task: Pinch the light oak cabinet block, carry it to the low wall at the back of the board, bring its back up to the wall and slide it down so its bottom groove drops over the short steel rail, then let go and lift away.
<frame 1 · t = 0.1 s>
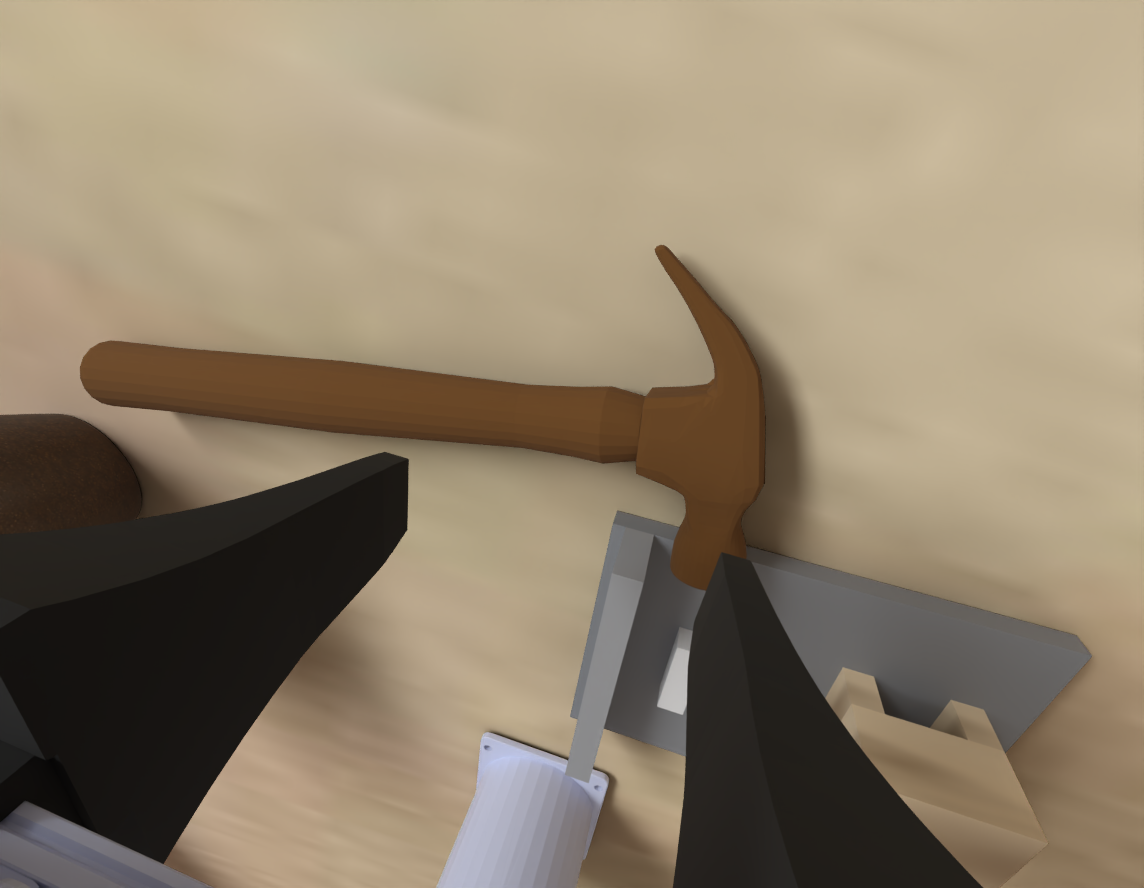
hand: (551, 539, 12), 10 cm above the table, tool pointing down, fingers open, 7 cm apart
wall board: (779, 674, 25), on the table
hammer: (412, 375, 23), on the table, touching wall board
cabinet block: (886, 725, 23), point 1 cm above the table, touching wall board
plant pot: (94, 466, 32), on the table
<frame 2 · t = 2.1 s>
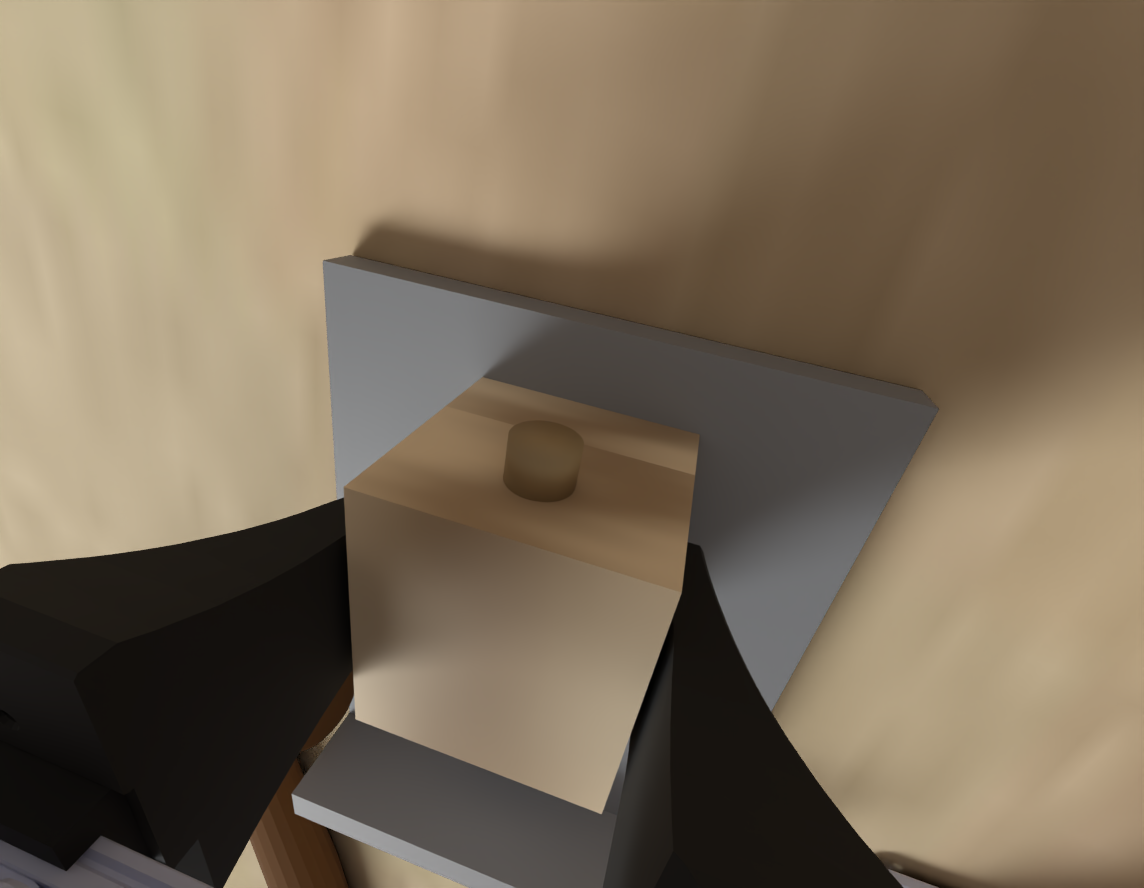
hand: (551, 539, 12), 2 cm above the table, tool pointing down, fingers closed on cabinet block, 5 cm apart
wall board: (552, 608, 16), on the table
hammer: (311, 805, 27), on the table, touching wall board
cabinet block: (567, 505, 13), point 1 cm above the table, touching gripper, wall board
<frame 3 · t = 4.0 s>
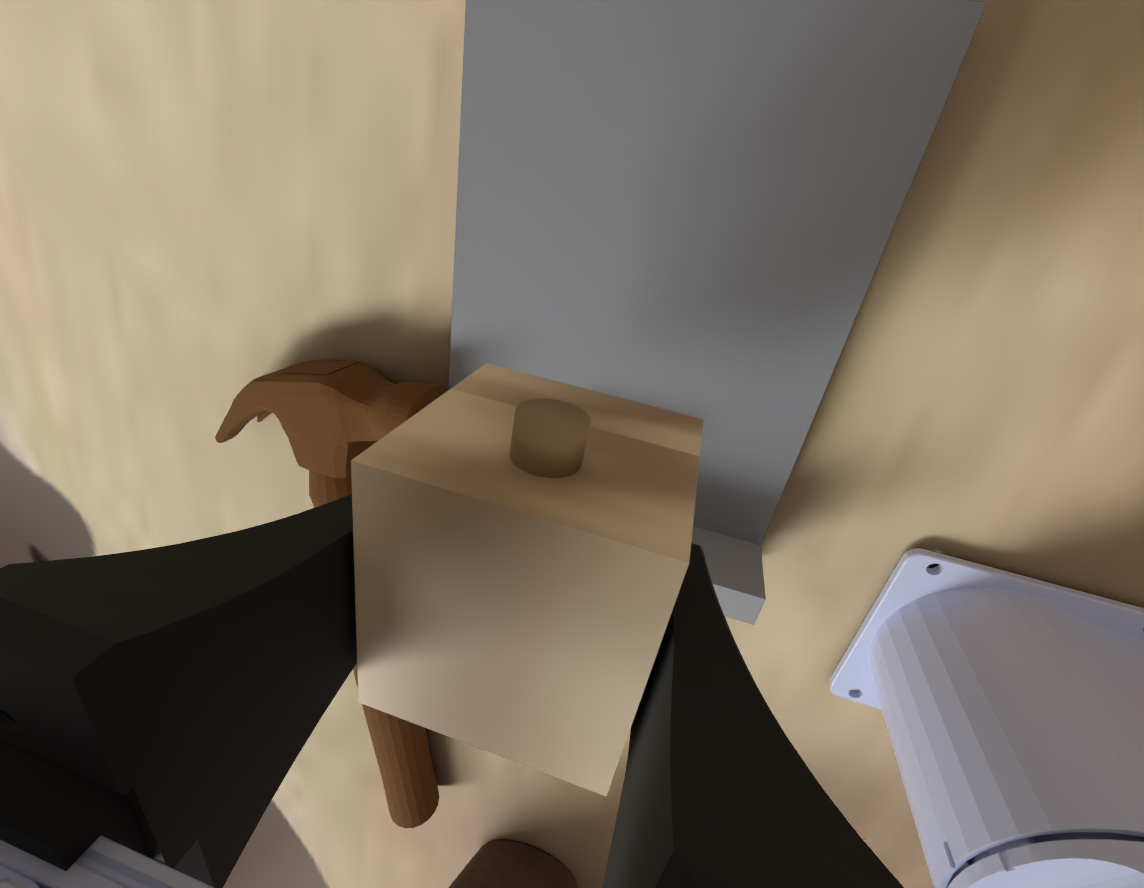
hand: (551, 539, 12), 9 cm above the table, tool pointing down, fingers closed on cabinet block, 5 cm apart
wall board: (637, 314, 18), on the table
hammer: (387, 608, 30), on the table, touching wall board
cabinet block: (570, 492, 13), point 8 cm above the table, touching gripper
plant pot: (525, 866, 38), on the table
when the fingers open (3 cm above the table, at t = 6.2 s): cabinet block stays where it is, resting on wall board.
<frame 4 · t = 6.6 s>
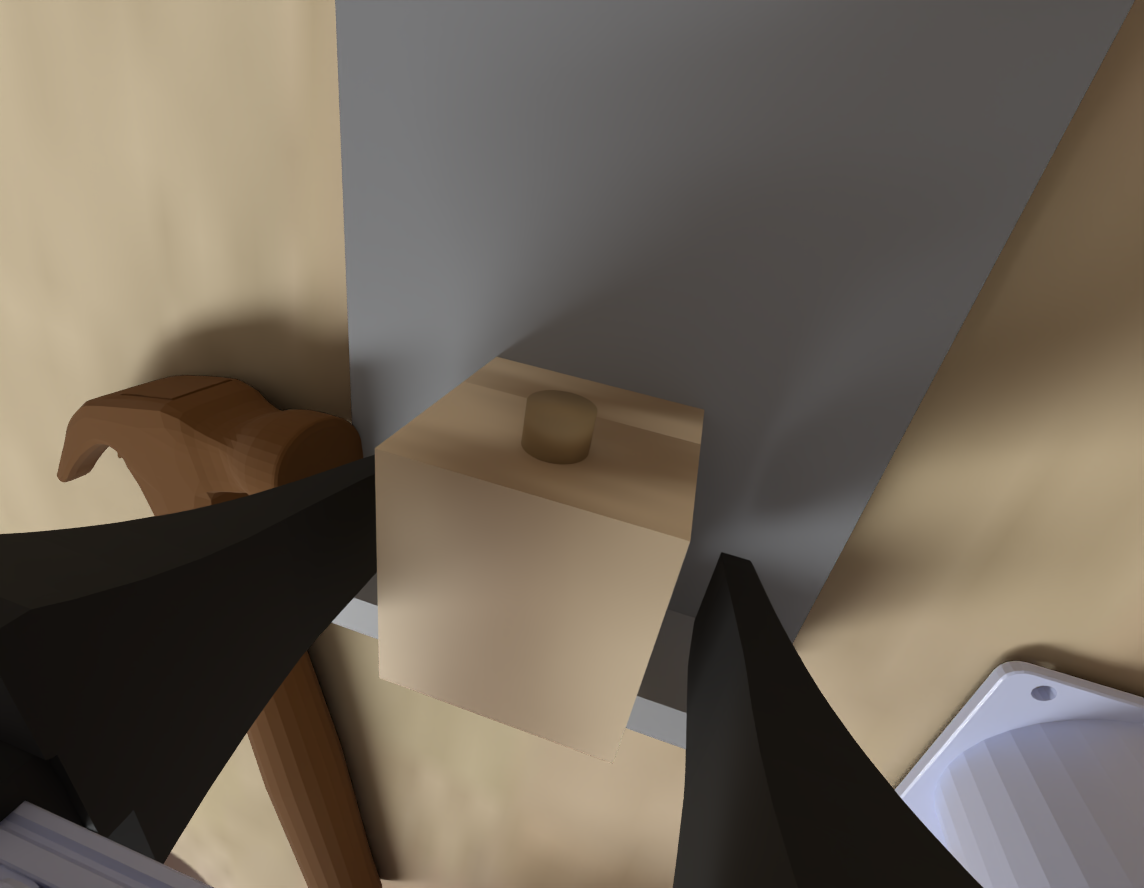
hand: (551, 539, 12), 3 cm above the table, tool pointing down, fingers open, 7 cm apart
wall board: (617, 317, 12), on the table
hammer: (308, 682, 24), on the table, touching wall board
cabinet block: (577, 481, 14), point 1 cm above the table, touching wall board
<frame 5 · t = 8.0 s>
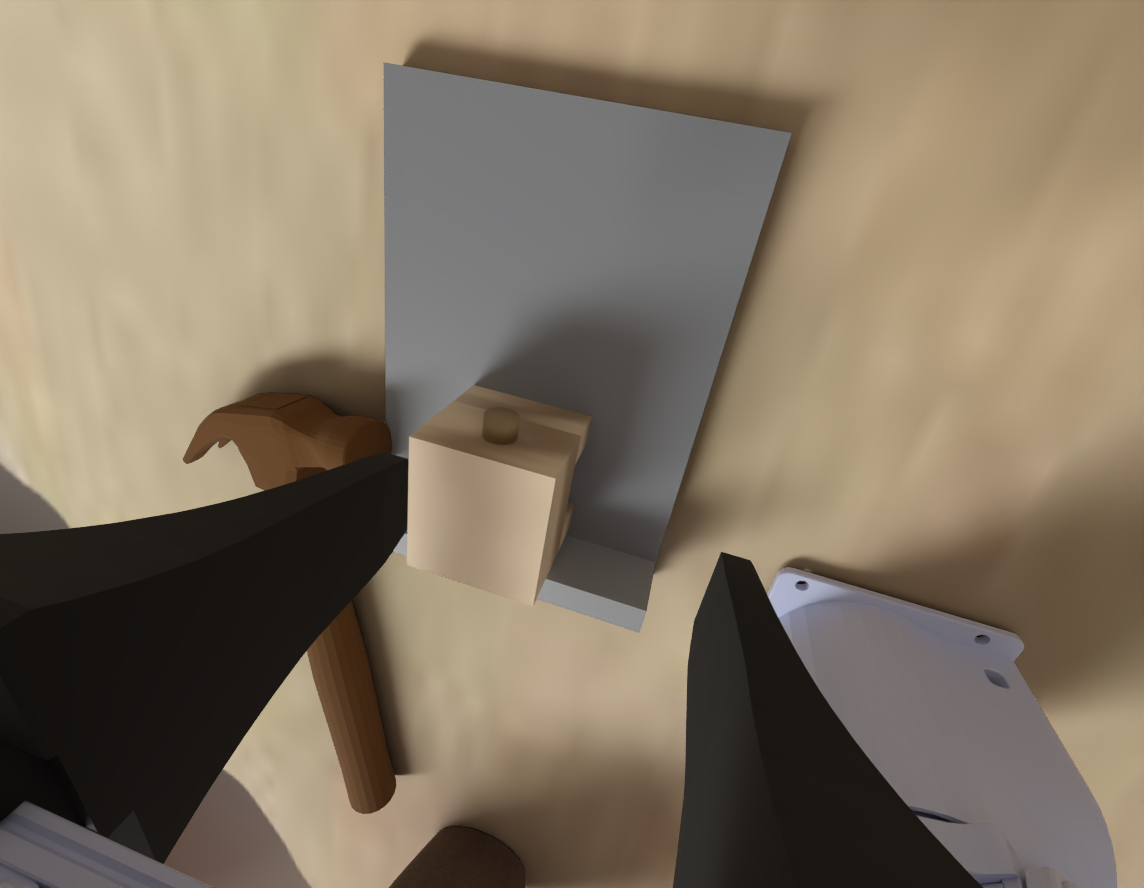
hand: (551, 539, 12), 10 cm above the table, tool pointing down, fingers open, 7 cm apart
wall board: (544, 362, 21), on the table
hammer: (344, 612, 32), on the table, touching wall board
cabinet block: (523, 459, 22), point 1 cm above the table, touching wall board
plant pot: (478, 852, 40), on the table
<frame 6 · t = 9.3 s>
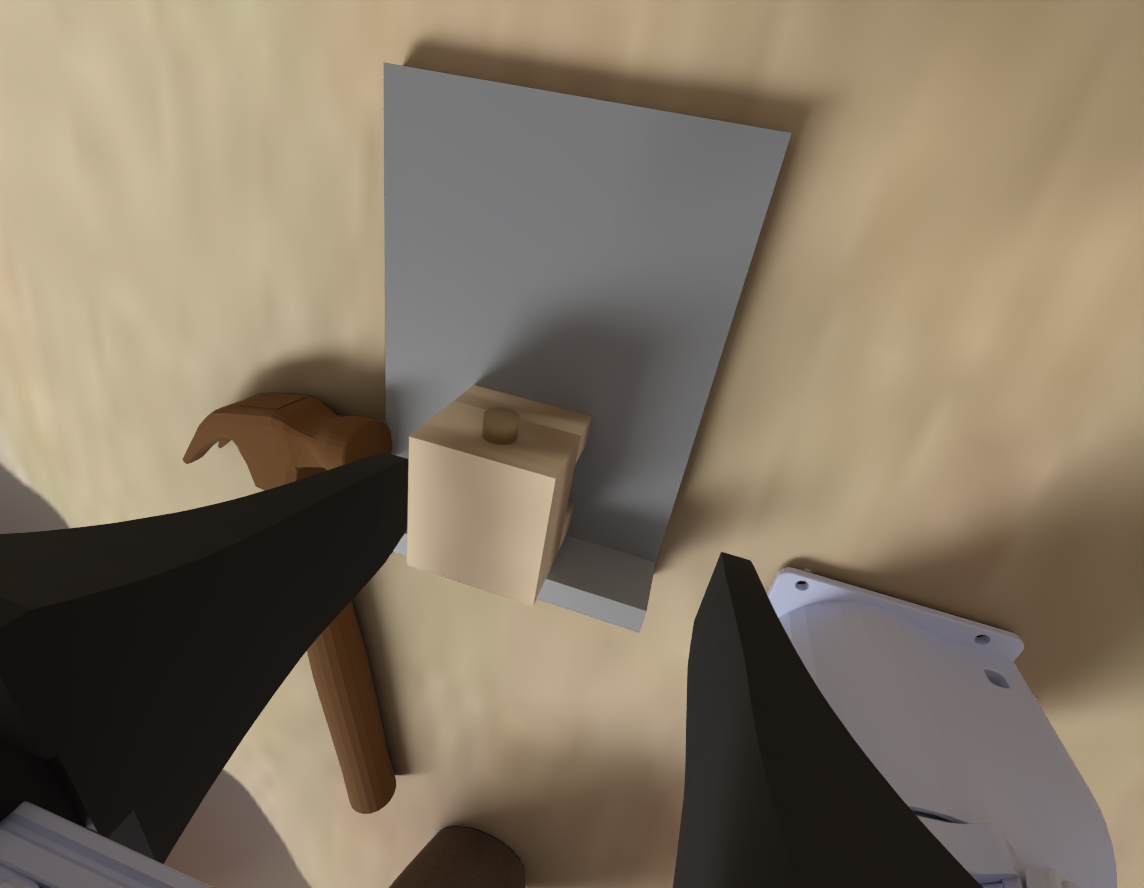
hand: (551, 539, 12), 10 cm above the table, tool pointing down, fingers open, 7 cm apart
wall board: (544, 362, 21), on the table
hammer: (344, 612, 32), on the table, touching wall board
cabinet block: (523, 459, 22), point 1 cm above the table, touching wall board
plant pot: (478, 852, 40), on the table
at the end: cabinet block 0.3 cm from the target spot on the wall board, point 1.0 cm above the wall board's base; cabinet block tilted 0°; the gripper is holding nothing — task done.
